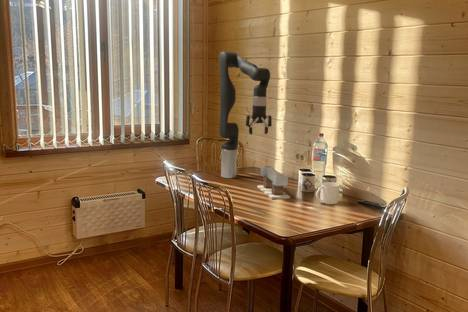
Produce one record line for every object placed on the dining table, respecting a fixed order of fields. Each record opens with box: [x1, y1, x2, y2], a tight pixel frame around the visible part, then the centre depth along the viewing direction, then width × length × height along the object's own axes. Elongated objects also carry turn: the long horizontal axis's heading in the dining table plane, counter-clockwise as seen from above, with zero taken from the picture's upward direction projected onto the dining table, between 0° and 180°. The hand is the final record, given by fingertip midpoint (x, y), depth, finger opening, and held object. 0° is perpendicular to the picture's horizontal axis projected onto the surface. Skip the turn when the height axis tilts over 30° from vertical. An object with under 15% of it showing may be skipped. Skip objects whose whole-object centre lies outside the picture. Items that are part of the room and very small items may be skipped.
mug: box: [315, 181, 340, 205], centre depth 230 cm, size 12×9×9 cm
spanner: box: [259, 165, 289, 187], centre depth 245 cm, size 26×6×5 cm, turn 14°
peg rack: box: [256, 177, 291, 200], centre depth 246 cm, size 26×10×7 cm, turn 14°
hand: (258, 134), depth 253 cm, fingers open, 8 cm apart
